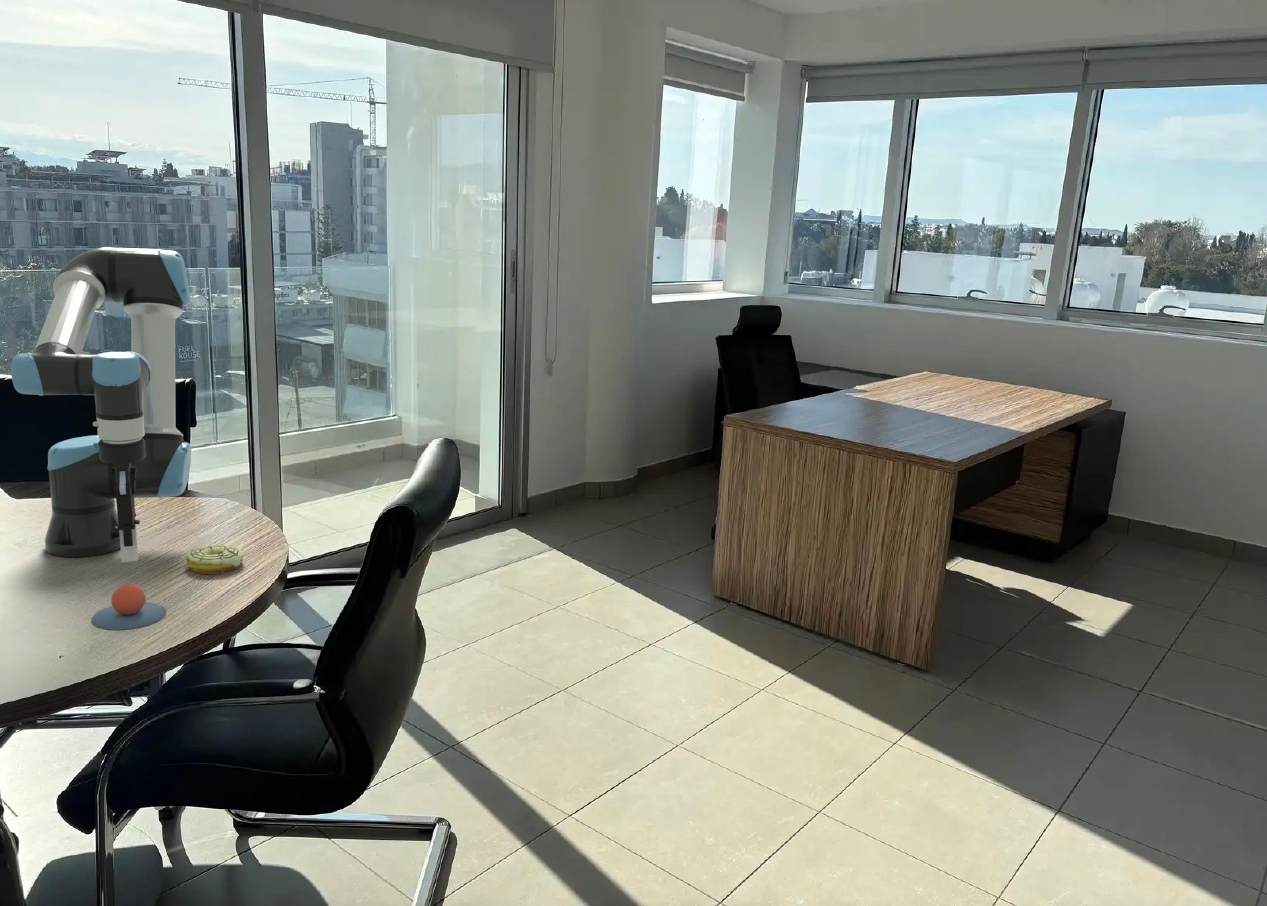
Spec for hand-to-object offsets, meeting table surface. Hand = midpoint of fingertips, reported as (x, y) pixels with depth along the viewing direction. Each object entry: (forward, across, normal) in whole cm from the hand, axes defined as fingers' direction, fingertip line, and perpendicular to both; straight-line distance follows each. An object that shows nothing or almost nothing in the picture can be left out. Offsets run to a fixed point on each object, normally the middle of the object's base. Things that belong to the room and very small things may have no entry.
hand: (129, 559), depth 182 cm
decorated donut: (+8, -12, +15) cm, 21 cm away
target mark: (+7, +10, 0) cm, 12 cm away
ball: (+4, +9, 0) cm, 10 cm away
